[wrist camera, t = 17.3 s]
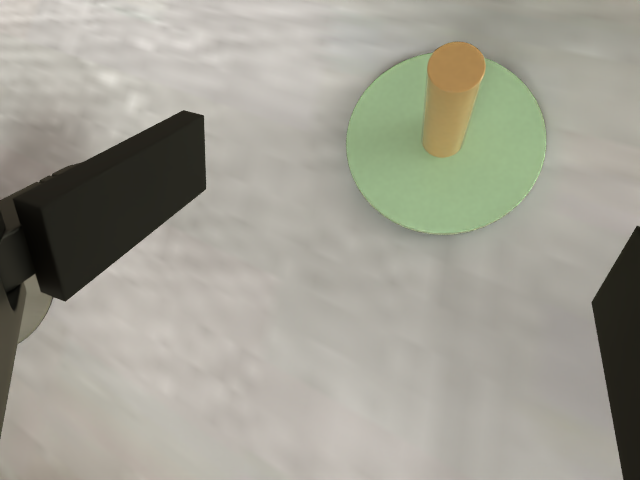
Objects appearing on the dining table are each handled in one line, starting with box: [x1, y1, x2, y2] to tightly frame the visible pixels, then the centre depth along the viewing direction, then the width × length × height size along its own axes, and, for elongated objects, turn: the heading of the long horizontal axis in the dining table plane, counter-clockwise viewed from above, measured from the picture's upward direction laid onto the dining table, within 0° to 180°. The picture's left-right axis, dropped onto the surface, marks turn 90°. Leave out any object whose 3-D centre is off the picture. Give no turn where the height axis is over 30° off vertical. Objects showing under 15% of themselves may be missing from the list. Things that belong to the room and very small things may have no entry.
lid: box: [346, 42, 546, 235], centre depth 30 cm, size 14×14×10 cm
